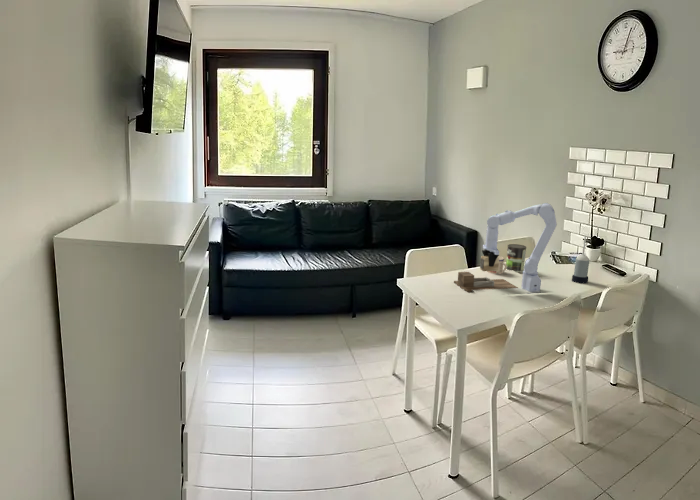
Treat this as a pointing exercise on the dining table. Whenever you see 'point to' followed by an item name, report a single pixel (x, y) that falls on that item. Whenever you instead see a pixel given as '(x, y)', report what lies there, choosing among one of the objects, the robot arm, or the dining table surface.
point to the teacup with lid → (500, 267)
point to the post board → (480, 282)
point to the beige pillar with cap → (485, 264)
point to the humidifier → (581, 268)
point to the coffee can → (515, 257)
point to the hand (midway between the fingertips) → (489, 265)
